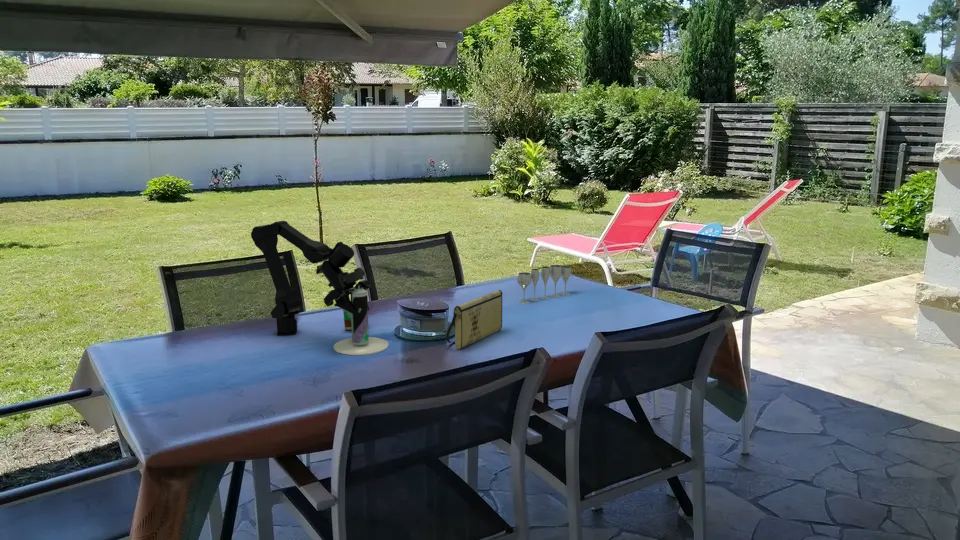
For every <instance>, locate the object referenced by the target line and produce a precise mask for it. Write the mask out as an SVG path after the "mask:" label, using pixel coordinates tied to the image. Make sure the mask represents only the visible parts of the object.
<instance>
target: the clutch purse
mask: <svg viewBox="0 0 960 540" xmlns="http://www.w3.org/2000/svg"><path fill="white" fill-rule="evenodd" d="M503 295H504V294H503V291H502V290H501V289H498V290H496V291H493V292H490V293H488V294H485V295H482V296H481V297H480V296H479V297H477V298H475V299H472V300H469V301H467V302H465V303H462V304H459V305H456V306H455V307H454V309H453V311H452V314H453V316H452V319H451V323H450V325H449V326H448V328H447V331H446V334H445V339H446V341H447V343H449V344H454V343H455V347H456V349H457V350H461V349H462V348H464V347H467V346H469V345H471V344H473V343H475V342H478V341H479V340H482V339H484V338H486V337H488V336H490V335H492V334H494V333H496V332H500V331H501V330H502V327H503ZM453 327H454V341H450V333H451V331H452V329H453Z"/></svg>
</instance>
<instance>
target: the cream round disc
mask: <svg viewBox="0 0 960 540" xmlns="http://www.w3.org/2000/svg"><path fill="white" fill-rule="evenodd" d="M388 348H389V341H387V340H386V339H383V338H379V337H375V336H369V343H368V344H366V345H354V344H352V337H350V338H349V337H348V338H345V339H341V340H339V341H337V342H336V343H335V344H334V345H333V350H334V352H336V353H338V354H340V353H341V354H340V355H345V354H346V356H370V355H374V354H378V353H381V352H383V351H384V352H385V351H386V350H387V349H388Z"/></svg>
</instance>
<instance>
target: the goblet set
mask: <svg viewBox="0 0 960 540" xmlns="http://www.w3.org/2000/svg"><path fill="white" fill-rule="evenodd" d="M571 274H572V267H571V266H569V265H560V264H550V265H549V266H542V267H541V270H539V268H532V269H531V271H530V273H529V272H526V271H525V272H523V271H522V272H518V275H517V278H516V279H517V283H518V285H519V286H520V287H521V288H522V291H523V300H519V301H518V303H519V302H520V303H519V304H529V302H530V301H531V302H538V301H540V299H542V300H549V299H550V298H560V297H561V296H570V295H571V293H569V292H566V289H567V283H568V280H569V279H570V277H571ZM540 276H541V280H542V282H543V286H544V296H541V297H540V299H539V298H536V288H537V285H538V282H539V279H540ZM550 278H551V280H552V281H553V283H554V294H550V295H549V296H546V295H547V294H546V292H547V290H546V289H547V283H548V282H549V279H550ZM560 279H562V280H563V284H564V292H560V293H559V294H557V284H558V281H559V280H560ZM531 283H532V284H533V289H534V293H533V294H534V295H533V296H534V298H530V300H526V299H525V295H526V294H525V293H526V289H527V288H528V287H529V286H530V284H531Z"/></svg>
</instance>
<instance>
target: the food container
mask: <svg viewBox="0 0 960 540" xmlns="http://www.w3.org/2000/svg"><path fill="white" fill-rule="evenodd" d="M342 311H343V313H342V314H343V322H344V332H345V331H351V332H352V323H351V313H350V312H348V311H346V310H344V309H342Z"/></svg>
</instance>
